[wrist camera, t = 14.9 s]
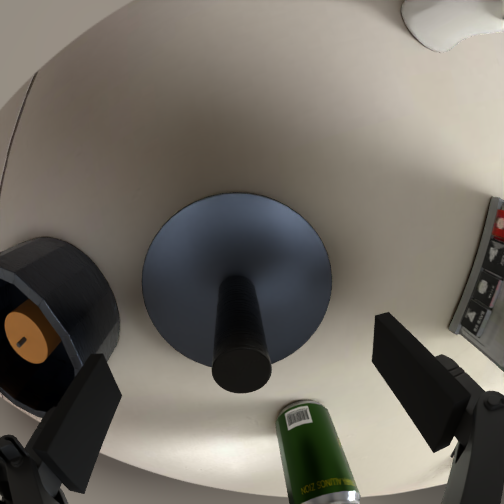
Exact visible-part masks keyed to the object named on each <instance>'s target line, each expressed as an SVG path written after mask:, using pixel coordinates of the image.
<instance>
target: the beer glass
mask: <svg viewBox="0 0 504 504" xmlns="http://www.w3.org/2000/svg"><path fill="white" fill-rule="evenodd" d="M401 12H402V17H403V19H404V22H405V24H406V26H407V27H408V29H409V30H410V32H411V33H412V34H413V35H414V37H415V38H416V39H417V40H418V41H419V42H421V43H422V44H423V45H424V46H426V47H427V48H429V49H431V50H433V51H436V52H447V51H450V50H451V49H452V48H454V47H455V46H456V45H457V44H458V43H459V42H461V41H462V40H464V39H466V38H468V37H472V36H476V35H482V34H490V33H500V32H504V0H405V1H404V2H403V4H402V8H401Z"/></svg>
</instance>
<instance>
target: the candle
mask: <svg viewBox="0 0 504 504" xmlns="http://www.w3.org/2000/svg"><path fill="white" fill-rule="evenodd" d="M5 332H6V335H7V338H8V340H9V342H10V344H11V346H12V347H13V348H14V350H15V351H16V352H17V353H18V354H19V355H20V356H21V357H22V358H24V359H25V360H27V361H29V362H31V363H35V364H39V363H42V362H44V361H45V360H46V359H47V358H48V356H49V355H50V354H51V353H52V352H53V350H54V349H55V348H56V347H57V346H58V344H59V343H60V342H61V341H62V340H61V338H60V336H59V335H58V334H57V332H56V331H55V330H54V328H53V327H52V326H51V324H50V323H49V321H48V320H47V319H46V317H45V316H44V314H43V313H42V312H41V310H40V309H39V307H38V306H37V305H36V304H35V303H33V302H32V301H31V300H30V299H27V300H26V301H25V302H23V303H22V304H21V305H19V306H18V307H17V308H16V309H14V310H13V311H12V312H10V313H9V314H8V315H7V317H6V319H5Z"/></svg>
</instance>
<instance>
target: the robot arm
mask: <svg viewBox="0 0 504 504" xmlns="http://www.w3.org/2000/svg"><path fill="white" fill-rule="evenodd" d="M372 363H373V364H374V365H375V367H376V368H377V370H378V371H379V373H380V374H381V375H382V377H383V378H384V380H385V381H386V383H387V384H388V386H389V387H390V388H391V390H392V391H393V393H394V394H395V396H396V397H397V399H398V400H399V402H400V403H401V405H402V406H403V408H404V409H405V410H406V412H407V413H408V415H409V416H410V418H411V419H412V421H413V422H414V424H415V425H416V427H417V428H418V430H419V431H420V433H421V434H422V436H423V438H424V439H425V441H426V442H427V444H428V445H429V447H430V448H431V450H432V451H433V453H435V452H437V451H439V450H441V449H443V448H445V447H447V446H449V445H450V443H451V441H452V439H453V437H454V436H455V437H456V438H457V440H458V443H457V445H456V447H455V449H454V451H453V452H452V454H451V457H452V458H453V456H454V459H453V463H452V467H451V471H450V475H449V479H448V483H447V487H446V490H445V493H444V496H443V499H442V503H441V504H500V503H501V496H502V491H503V484H504V395H502V394H501V393H499V392H495V391H487V392H485V391H484V390H483V389H482V388H481V387H480V386H479V385H478V384H477V383H476V382H475V381H474V380H473V379H472V378H471V377H470V376H469V375H468V374H467V373H465V372H464V370H463V369H462V368H461V367H459V365H458V364H457V363H456V362H455V361H453V360H452V359H451V358H449V357H447V356H445V355H442V354H441V355H439V356H436V357H434V356H433V355H432V354H431V353H430V352H429V351H428V350H427V349H426V348H425V347H424V346H423V345H422V344H421V343H420V342H419V341H418V340H417V339H416V338H415V337H414V336H413V335H412V334H411V333H410V332H409V331H408V330H407V329H406V328H405V327H404V326H403V325H402V324H401V323H400V322H399V321H398V320H397V319H396V318H395V317H393V316H392V315H391V314H390V313H389V312H387V313H383V314H379V315H375V325H374V342H373V355H372ZM121 397H122V394H121V392H120V390H119V388H118V386H117V384H116V382H115V380H114V377H113V375H112V373H111V371H110V368H109V366H108V364H107V361H106V359H105V356H104V354H103V353H100V354H90V356H89V357H88V358H87V360H86V361H85V363H84V364H83V366H82V367H81V369H80V370H79V372H78V373H77V375H76V376H75V378H74V380H73V381H72V383H71V384H70V386H69V387H68V389H67V390H66V392H65V394H64V395H63V397H62V398H61V400H60V401H59V403H58V405H57V406H56V407H54V406H53V407H52V408H51V409H50V410H49V411H48V412H46V414H45V415H44V417H43V418H42V420H41V422H40V423H39V425H38V426H37V429H36V430H35V432H34V433H33V435H32V436H31V438H30V440H29V442H28V443H27V445H26V447H25V448H23V446H22V445H21V443H20V442H19V441H18V440H17V438H16V437H14V436H13V435H4V436H2V437H1V438H0V495H1V496H2V500H0V504H68V502H67V499H66V497H65V495H64V493H63V491H62V490H61V489H60V486H61V484H62V483H63V484H64V485H65V486H66V487H67V488H68V489H69V490H70V491H74V492H78V493H82V494H84V493H85V491H86V488H87V485H88V482H89V479H90V476H91V473H92V470H93V468H94V465H95V462H96V460H97V457H98V454H99V452H100V449H101V446H102V444H103V441H104V439H105V436H106V434H107V431H108V428H109V426H110V423H111V421H112V419H113V416H114V414H115V411H116V409H117V406H118V404H119V401H120V399H121Z"/></svg>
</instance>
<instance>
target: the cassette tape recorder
mask: <svg viewBox="0 0 504 504" xmlns="http://www.w3.org/2000/svg"><path fill="white" fill-rule="evenodd" d="M449 330H450V331H452V332H453V333H454V334H461V335H462V336H463V337H464V338H465V339H467V340H468V341H469V342H470V343H471V344H473V345H474V346H475V347H476V348H477V349H478V350H480V351H481V352H482V353H483V354H484V355H485V356H487V357H488V358H489V359H490V360H491V361H492V362H493V363H495V364H496V365H497V366H498V367H499V368H500V369H501V370H502V371H504V200H502V199H500V198H498V197H493V196H492V198H491V203H490V206H489V212H488V216H487V220H486V224H485V228H484V232H483V235H482V239H481V242H480V246H479V249H478V253H477V256H476V259H475V262H474V265H473V268H472V271H471V274H470V277H469V280H468V282H467V285H466V288H465V290H464V293H463V296H462V298H461V301H460V303H459V306H458V308H457V310H456V313H455V315H454V318H453V320H452V322H451V324H450V327H449Z"/></svg>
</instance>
